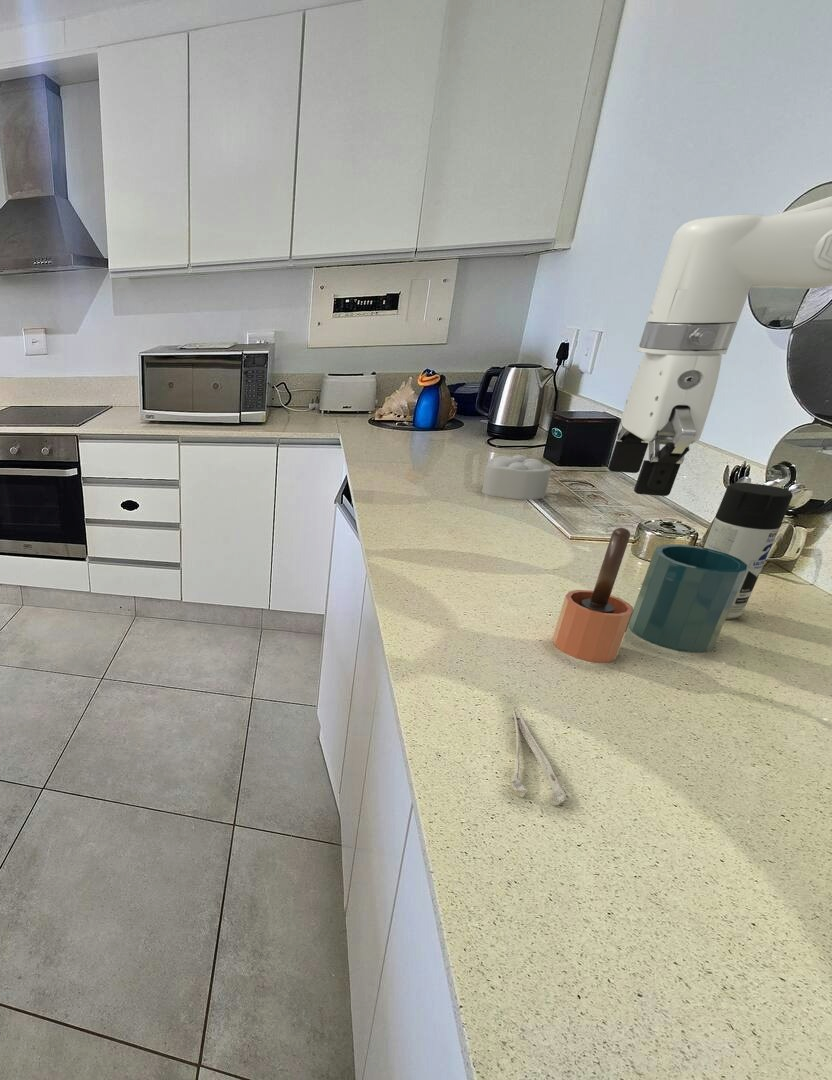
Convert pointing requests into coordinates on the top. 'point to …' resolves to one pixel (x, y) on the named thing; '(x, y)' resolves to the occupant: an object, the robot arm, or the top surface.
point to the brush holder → (591, 628)
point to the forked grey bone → (519, 789)
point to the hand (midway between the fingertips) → (635, 482)
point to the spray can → (748, 530)
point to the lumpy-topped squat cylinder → (516, 478)
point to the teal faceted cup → (686, 597)
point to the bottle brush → (608, 572)
